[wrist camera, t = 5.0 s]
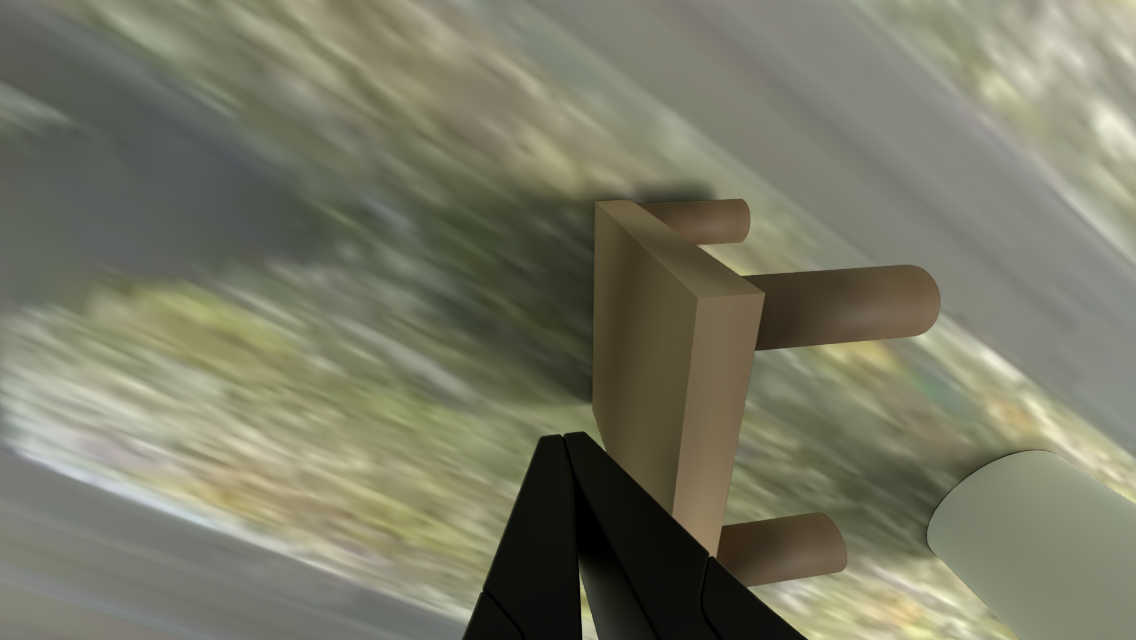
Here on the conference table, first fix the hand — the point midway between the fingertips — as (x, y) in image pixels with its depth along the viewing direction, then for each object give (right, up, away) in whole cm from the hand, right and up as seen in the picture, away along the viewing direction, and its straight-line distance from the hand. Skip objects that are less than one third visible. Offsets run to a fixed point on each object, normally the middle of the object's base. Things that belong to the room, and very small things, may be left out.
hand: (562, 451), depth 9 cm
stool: (+5, +1, +3) cm, 6 cm away
